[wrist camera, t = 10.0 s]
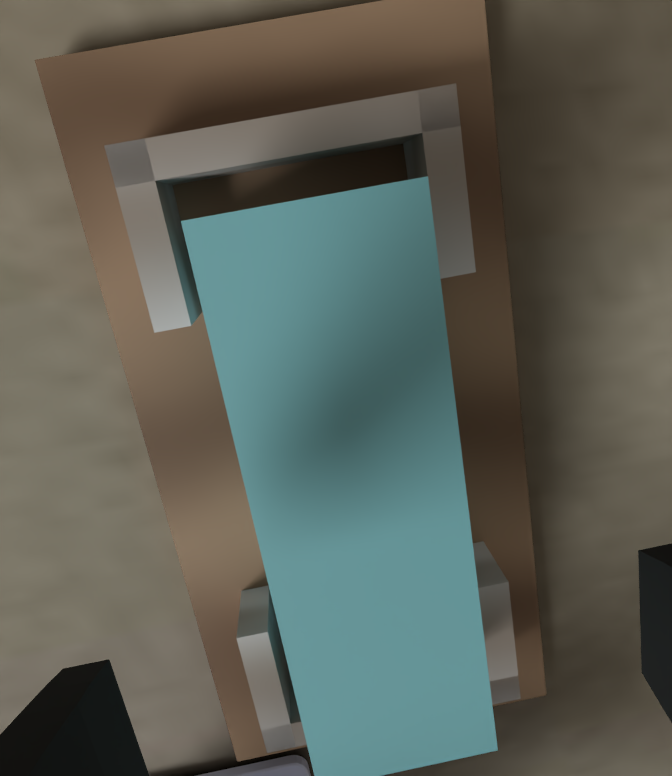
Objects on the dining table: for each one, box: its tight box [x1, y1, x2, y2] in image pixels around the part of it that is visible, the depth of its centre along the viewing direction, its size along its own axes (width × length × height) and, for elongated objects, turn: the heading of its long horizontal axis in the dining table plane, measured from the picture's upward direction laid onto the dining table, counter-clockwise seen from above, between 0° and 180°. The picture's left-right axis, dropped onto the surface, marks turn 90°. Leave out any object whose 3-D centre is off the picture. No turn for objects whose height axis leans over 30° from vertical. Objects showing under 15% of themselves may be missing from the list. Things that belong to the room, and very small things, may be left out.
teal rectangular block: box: [181, 176, 498, 776], centre depth 14 cm, size 12×4×5 cm, turn 10°
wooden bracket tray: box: [35, 0, 546, 762], centre depth 16 cm, size 20×10×3 cm, turn 10°
